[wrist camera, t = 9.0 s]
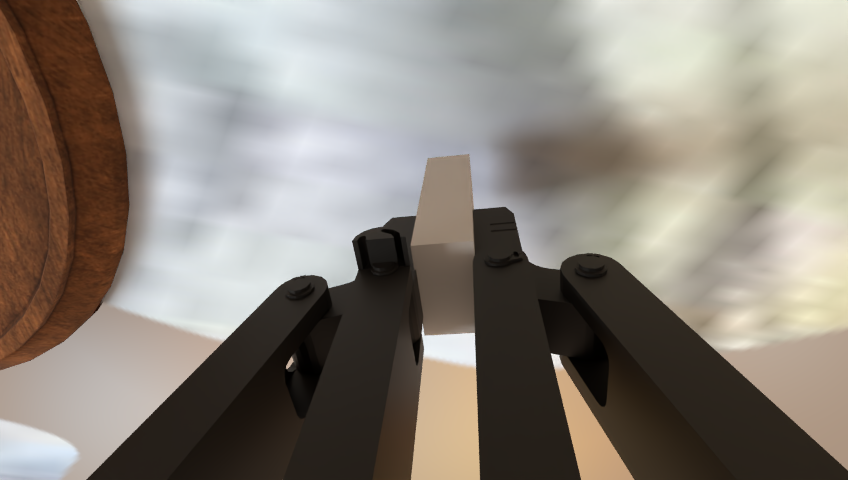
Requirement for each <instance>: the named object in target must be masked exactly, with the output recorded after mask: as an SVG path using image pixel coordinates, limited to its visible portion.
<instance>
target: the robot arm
mask: <svg viewBox="0 0 848 480" xmlns="http://www.w3.org/2000/svg"><path fill="white" fill-rule="evenodd" d="M352 243H353V247H354V252H355V256H356V261H357V265H358V269H359V270H358V273H357V276H356V279H355V281H352V282H350V283H347V284H344V285H340V286H336V287H332V288H328V285H327V281H326V280H325V279H324V278H322V277H320V276H315V275H309V276H306V275H304V276H300V277H295V278H293V279H291V280H289V281H287V282H285V283H283V284H282V285H281V286H279V287H278V288H277V289H276V290H275V291H274V292H273V293H272V294H271V295H270V296H269V297H268V298H267V299H266V300H265V301H264V302H263V303H262V304H261V305H260V306H259V307H258V308H257V309H256V310H255V311H254V312H253V313H252V314H251V315H250V316H249V317H248V318H247V319H246V320H245V321H244V322H243V323H242V324H241V325H240V326H239V327H238V328H237V329H236V330H235V331H234V332H233V333H232V334H231V335H230V336H229V337H228V338H227V339H226V340H225V341H224V342H223V343H222V344H221V345H220V346H219V347H218V348H217V349H216V350H215V351H214V352H213V353H212V354H211V355H210V356H209V357H208V358H207V359H206V360H205V361H204V362H203V363H202V364H201V365H200V366H199V367H198V368H197V369H196V370H195V371H194V372H193V373H192V374H191V375H190V376H189V377H188V378H187V379H186V380H185V381H184V382H183V383H182V384H181V385H180V386H179V387H178V388H177V389H176V390H175V391H174V392H173V393H172V394H171V395H170V396H169V397H168V398H167V399H166V400H165V401H164V402H163V403H162V404H161V405H160V406H159V407H158V408H157V409H156V410H155V411H154V412H153V414H151V416H149V418H147V419H146V420H145V421H144V422H143V423H142V424H141V426H139V427H138V429H137V430H135V432H134V433H132V435H130V437H129V438H127V439H126V440H125V441H124V442H123V443H122V444H121V446H119V448H117V450H115V452H114V453H113V454H112V455H111V456H110V457H109V458H108V459H107V460H106V461H105V462H104V463H103V464H102V465H101V466H100V467H99V468H98V469H97V470H96V471H95V472H94V473H93V474H92V475H91V476H90V477H89V478H88V479H87V480H411V472H412V462H413V452H414V442H415V431H416V422H417V411H418V402H419V392H420V382H421V372H422V362H423V352H424V346H423V340H422V334H421V332H422V324H423V327H424V334H425V335H441V334H460V333H475V346H476V375H477V403H478V431H479V460H480V480H581V478H580V473H579V469H578V465H577V461H576V457H575V453H574V448H573V444H572V440H571V436H570V432H569V427H568V423H567V419H566V415H565V411H564V407H563V403H562V398H561V394H560V390H559V386H558V382H557V378H556V373H555V369H554V365H553V361H552V357H551V353H552V354H557V355H560V360H561V363H562V365H563V367H564V368H565V370H566V371H567V373H568V375H569V376H570V377H571V379H572V381H573V383H574V384H575V386H576V387H577V389H578V390H579V392H580V394H581V395H582V397H583V398H584V400H585V402H586V403H587V405H588V406H589V408H590V410H591V411H592V413H593V414H594V416H595V417H596V419H597V420H598V422H599V424H600V425H601V427H602V429H603V430H604V432H605V433H606V435H607V437H608V438H609V440H610V441H611V443H612V445H613V446H614V447H615V449H616V451H617V452H618V454H619V455H620V457H621V459H622V460H623V462H624V463H625V465H626V467H627V468H628V470H629V471H630V473H631V475H632V476H633V478H634V479H635V480H848V471H847V470H846V469H845V468H844V467H843V466H842V465H841V464H840V463H839V462H838V461H837V460H835V459H834V458H833V457H832V456H831V455H830V454H829V453H828V452H827V451H826V450H824V449H823V448H822V447H821V446H820V445H819V444H818V443H817V442H816V441H815V440H813V439H812V438H811V437H810V436H809V435H808V434H807V433H806V432H805V431H804V430H802V429H801V428H800V427H799V426H798V425H797V424H796V423H795V422H794V421H793V420H791V419H790V418H789V417H788V416H787V415H786V414H785V413H784V412H783V411H782V410H780V409H779V408H778V407H777V406H776V405H775V404H774V403H773V402H772V401H771V400H769V399H768V398H767V397H766V396H765V395H764V394H763V393H762V392H761V391H760V390H758V389H757V388H756V387H755V386H754V385H753V384H752V383H751V382H750V381H748V380H747V379H746V378H745V377H744V376H743V375H742V374H741V373H740V372H739V371H737V370H736V369H735V368H734V367H733V366H732V365H731V364H730V363H729V362H728V361H726V360H725V359H724V358H723V357H722V356H721V355H720V354H719V353H718V352H717V351H716V350H714V349H713V348H712V347H711V346H710V345H709V344H708V343H707V342H706V341H705V340H703V339H702V338H701V337H700V336H699V335H698V334H697V333H696V332H695V331H694V330H692V329H691V328H690V327H689V326H688V325H687V324H686V323H685V322H684V321H683V320H681V319H680V318H679V317H678V316H677V315H676V314H675V313H674V312H673V311H672V310H670V309H669V308H668V307H667V306H666V305H665V304H664V303H663V302H662V301H660V300H659V299H658V298H657V297H656V296H655V295H654V294H653V293H652V292H651V291H649V290H648V289H647V288H646V287H645V286H644V285H643V284H642V283H641V282H640V281H638V280H637V279H636V278H635V277H634V276H633V275H632V274H631V273H630V272H629V271H627V270H626V269H625V268H624V267H623V266H622V265H621V264H620V263H619V262H617V261H615V260H614V259H612V258H610V257H607V256H603V255H600V254H593V253H586V254H579V255H575V256H572V257H569V258H567V259H566V260H565V261H563V262H562V265H561V268H560V270H556V269H548V268H543V267H539V266H536V265H534V264H532V263H530V262H529V261H528V257H527V256H526V254H525V253H524V252H523V251H522V247H521V243H520V239H519V234H518V230H517V226H516V222H515V217H514V213H512V212H511V211H510V210H508V209H507V208H506V207H499V208H487V209H476V210H474V204H473V193H472V181H471V169H470V157H469V154H466V155H456V156H446V157H436V158H428V160H427V165H426V170H425V175H424V180H423V185H422V190H421V195H420V200H419V205H418V210H417V215H416V216H408V217H397V218H392V219H391V220H389V221H388V222H387V223H386V224H385V225H384V226H383V227H378V228H373V229H370V230H367V231H364V232H362V233H361V234H359V235H357V236H356V237H355V238H354V239H353V241H352ZM291 357H292V358H293V361H294V362H293V363H292V365H291V366H290V367H289V368H288V369H286V365H287V363H288V361H289V360H290V358H291Z"/></svg>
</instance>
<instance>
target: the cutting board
mask: <svg viewBox="0 0 848 480" xmlns="http://www.w3.org/2000/svg"><path fill="white" fill-rule="evenodd" d="M128 211H129V194H128V177H127V160H126V151H125V146H124V141H123V137H122V132H121V128H120V123H119V119H118V114H117V109H116V105H115V100H114V96H113V92H112V89H111V86H110V84H109V81H108V78H107V75H106V73H105V70H104V67H103V64H102V62H101V59H100V56H99V53H98V51H97V48H96V45H95V42H94V40H93V37H92V34H91V31H90V29H89V26H88V23H87V21H86V19H85V17H84V15H83V13H82V11H81V9H80V7H79V5H78V3H77V1H76V0H0V370H3V369H6V368H9V367H12V366H15V365H18V364H21V363H24V362H27V361H30V360H32V359H34V358H35V357H37V356H39V355H41V354H43V353H45V352H46V351H48V350H50V349H52V348H53V347H55V346H57V345H59V344H60V343H62V342H64V341H65V340H66V339H67V338H68V337H69V336H71V335H72V334H73V333H74V332H75V331H76V330H77V329H78V328H79V327H80V326H82V325H83V324H84V323H85V322H86V321H87V320H88V319H89V318H90V317H91V316H92V315H93V314H94V313H95V312H96V311H98V309H99V308H100V306H101V305H102V303H103V302H101V301H102V299H103V298H104V296H105V294H106V293H107V291H108V290H109V288H110V287H111V284H112V281H113V279H114V276H115V273H116V270H117V267H118V264H119V262H120V259H121V256H122V253H123V250H124V243H125V235H126V227H127V219H128Z"/></svg>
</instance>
